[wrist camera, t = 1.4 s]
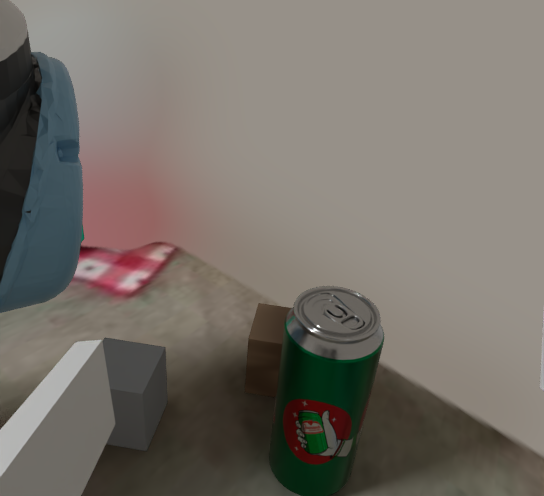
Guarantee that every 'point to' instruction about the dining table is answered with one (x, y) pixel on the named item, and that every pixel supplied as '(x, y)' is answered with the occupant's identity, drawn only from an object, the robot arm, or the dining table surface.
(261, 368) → the walnut block
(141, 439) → the slate grey block
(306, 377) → the soda can
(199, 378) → the dining table surface
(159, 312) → the dining table surface
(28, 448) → the robot arm
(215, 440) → the dining table surface
